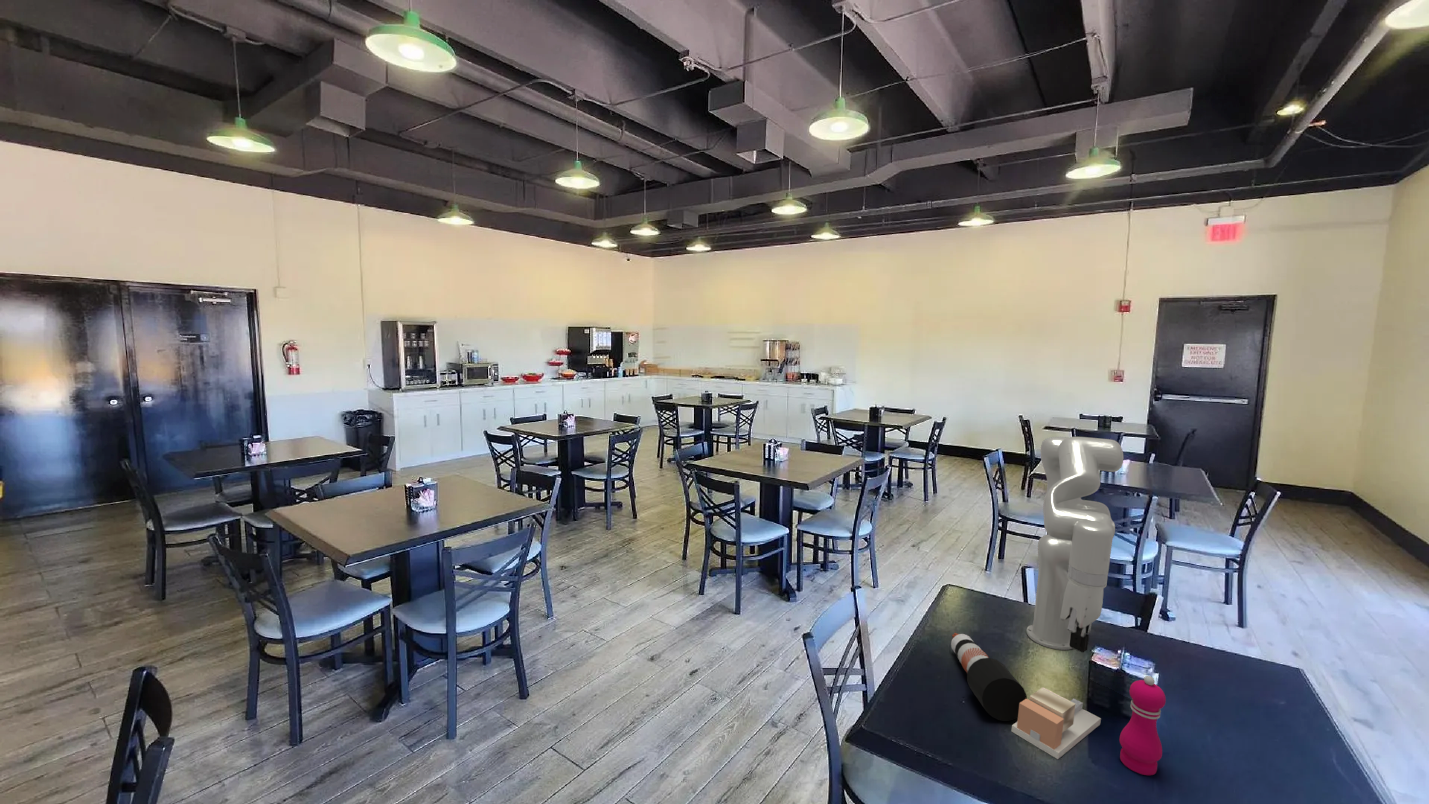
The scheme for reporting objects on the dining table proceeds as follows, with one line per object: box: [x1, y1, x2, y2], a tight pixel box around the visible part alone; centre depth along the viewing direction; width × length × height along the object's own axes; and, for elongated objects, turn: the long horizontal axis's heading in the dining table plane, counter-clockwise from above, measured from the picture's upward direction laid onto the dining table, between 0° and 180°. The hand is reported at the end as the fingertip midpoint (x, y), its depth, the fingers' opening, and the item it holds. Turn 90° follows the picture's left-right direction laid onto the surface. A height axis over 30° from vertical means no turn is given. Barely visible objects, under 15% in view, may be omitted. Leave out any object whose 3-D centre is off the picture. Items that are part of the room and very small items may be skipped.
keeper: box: [1028, 686, 1076, 733], centre depth 129 cm, size 6×7×5 cm
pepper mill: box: [1118, 675, 1167, 776], centre depth 120 cm, size 7×7×20 cm
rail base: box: [1011, 698, 1102, 760], centre depth 131 cm, size 20×10×8 cm, turn 124°
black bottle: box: [950, 632, 1028, 722], centre depth 149 cm, size 10×34×10 cm, turn 173°
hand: (1078, 648), depth 134 cm, fingers closed
